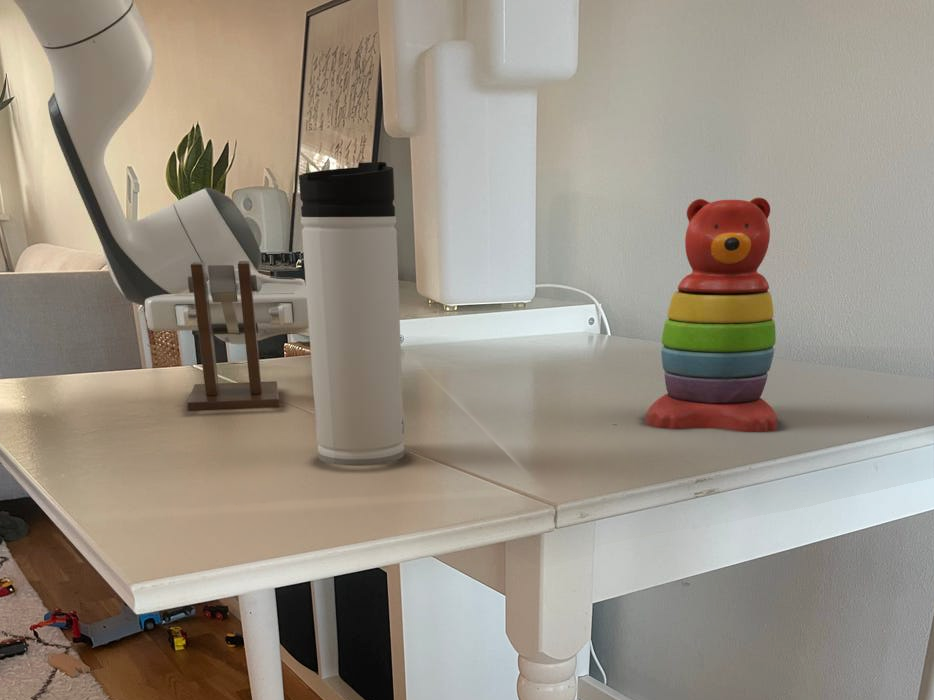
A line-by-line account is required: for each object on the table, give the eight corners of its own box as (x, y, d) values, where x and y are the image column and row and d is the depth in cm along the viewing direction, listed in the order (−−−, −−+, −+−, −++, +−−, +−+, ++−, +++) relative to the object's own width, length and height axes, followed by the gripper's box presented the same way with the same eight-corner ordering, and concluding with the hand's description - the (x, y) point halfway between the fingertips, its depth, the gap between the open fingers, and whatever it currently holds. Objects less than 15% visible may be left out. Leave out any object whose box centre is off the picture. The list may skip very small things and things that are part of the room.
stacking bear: (643, 431, 81) (659, 197, 74) (651, 408, 90) (665, 198, 83) (777, 436, 79) (806, 196, 72) (771, 413, 88) (797, 197, 81)
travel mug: (424, 460, 72) (415, 161, 64) (370, 480, 67) (354, 157, 59) (357, 450, 75) (341, 163, 67) (301, 468, 70) (276, 160, 62)
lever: (210, 342, 101) (208, 319, 101) (259, 340, 102) (257, 317, 102) (194, 293, 86) (191, 265, 85) (251, 291, 86) (249, 264, 86)
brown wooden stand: (195, 399, 96) (178, 260, 90) (278, 396, 97) (266, 259, 92) (189, 419, 87) (169, 266, 81) (280, 415, 88) (266, 264, 83)
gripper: (146, 281, 118) (133, 289, 106) (316, 278, 122) (322, 286, 109) (153, 335, 121) (141, 349, 108) (319, 330, 124) (326, 344, 112)
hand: (234, 317), depth 109 cm, fingers open, 8 cm apart
